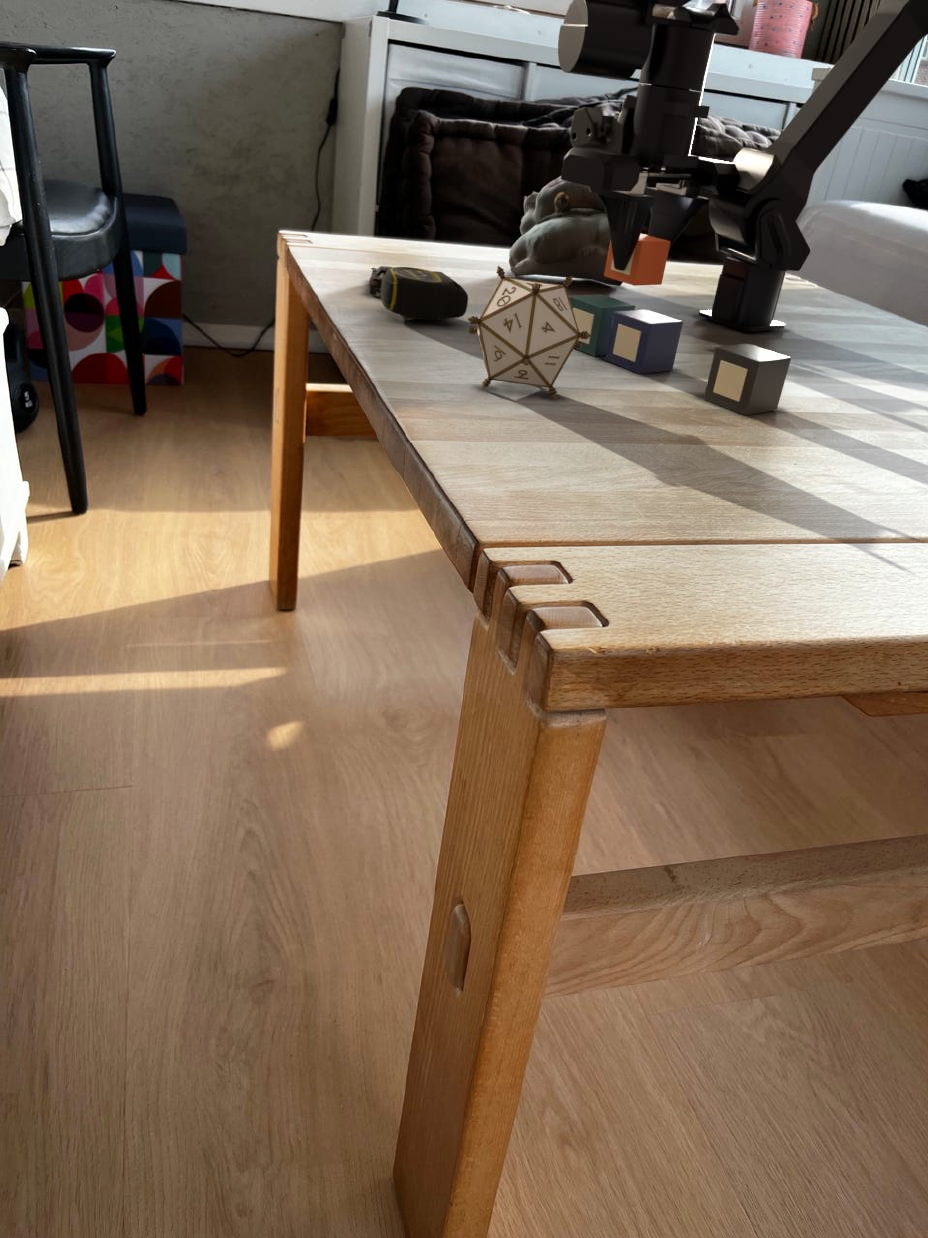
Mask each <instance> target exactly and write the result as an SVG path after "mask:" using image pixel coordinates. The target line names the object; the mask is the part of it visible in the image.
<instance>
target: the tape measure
mask: <svg viewBox="0 0 928 1238" xmlns="http://www.w3.org/2000/svg"><path fill="white" fill-rule="evenodd" d="M393 267H394V268H391V269H388V270H387V271H386V274H385V276H384V277H383V279H382V285H381V293H380V299H381V303H382V306H383V307H384V308H385V309H386V310H388V311H390V312H392V313H394V314H395V315H399V316H400V317H401V318H403V319H404V320H405V321H411V320H423V321H434V320H435V321H436V320H451V319H457V318H461V317H463V316H464V315H465V314H466V312H467V308H468V303H469V295H468V293H467V291H466V290H465V289H464V287H463V286H462V285H460V284H459V282H457V281H455V280H454V279H453V278H451V277H450V276H448V275H447V274H445V273H444V272H443V271H436V270H434V271H433V270H428V269H423V268H418V267H411V266H393Z"/></svg>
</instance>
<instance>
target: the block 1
mask: <svg viewBox="0 0 928 1238" xmlns="http://www.w3.org/2000/svg"><path fill="white" fill-rule="evenodd" d="M568 296H569V300H570V303H571V306H572V309H573V312H574V315H575V318H576V322H577V325H578V328H579V331H580V333H581V332H583V331H584V332H586V331H587V332H588V333H589V334H590V335H591V336H590V337H589V338H588V339H582V338H579V340H578V341H579V342H580V343H581V345H582V346H580V347H578V348H577V349H576V347H575V348H574V349H575V350H578V351H580V352H582V353H585V354H587V355H591V356H593V357H598V356H599V357H601V356H606V353H607V347H608V342H609V337H610V332H611V326H612V321H613V316H614V312H616V311H631V310H636V305H635V304H632V303H630V302H626V301H623V300H620V299H617V298H614V297H611V296H608V295H605V294H603V293H601V294H598V293H597V294H580V295H579V294H578V295H568Z"/></svg>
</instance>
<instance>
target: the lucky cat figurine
mask: <svg viewBox="0 0 928 1238" xmlns="http://www.w3.org/2000/svg"><path fill="white" fill-rule="evenodd" d="M523 199H524V200H523V211H524V215H523V216H522V218H521V220H520V222H521V223H520V226H519V230H520V231H519V232H520V234H521V236H520V237H519V238H518V239H517V240H516V241H515V242H514V243H513V244H512V246H511V247H510V249H509V251H508V252H509V253H508V256H509V257H508V258H509V259H508V264H509V267H510V272H511V274H512V275H513V276H514V278H519V277H522V276H543V277H545V276H546V277H554V278H555V277H556V278H566V277H567V278H568V277H570V276H572V279H579V280H589V281H590V280H592V281H595V282H598V283H601V284H605V285H608V286H609V285H610V286H614V287H621V285H622V284H623V283H624V282H621V281H618V280H615V279H612V278H609V277H605V276H604V273H605V268H606V262H607V257H608V252H609V246H610V241H611V239H610V231H609V224H608V219H607V215H606V210H605V207H604V205H603V204H602V202H601V201H600V199H599V198H598V196H597V195H596V193H593V192H590V191H589V188H588V186H586V185H582V184H577V183H573V182H569V181H565V180H561V175H560V176H559V177H557V178H556V179H553V180H552V181H550V182H549V183H547V184H546V185H545V186H543V187H542V188H541V190H540V191H539V192H537V191H534V190H533V191H532V193H531V194H530V195H528V196H527V195H524V197H523Z"/></svg>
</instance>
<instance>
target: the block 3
mask: <svg viewBox="0 0 928 1238" xmlns="http://www.w3.org/2000/svg"><path fill="white" fill-rule="evenodd" d="M791 360H792V357H791V356H787V355H785V354H781V353H778V352H775V351H772V350H769V349H767V348H763V347H760V346H758V345H754V344H752V343H739V344H729V345H719V346H716V347H715V349H714V353H713V358H712V362H711V365H710V369H709V374H708V378H707V382H706V385H705V391H704V395H703V400H704V401H708V402H710V403H713V404H715V405H718V406H721V407H723V408H725V409H728V410H731V411H732V412H735V413H738V414H741V415H744V416H748V415H749V416H750V415H755V414H760V413H766V412H772V411H777V410H778V408H779V404H780V399H781V396H782V394H783V393H782V392H783V389H784V385H785V381H786V379H787V375H788V372H789V368H790V364H791Z"/></svg>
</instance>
